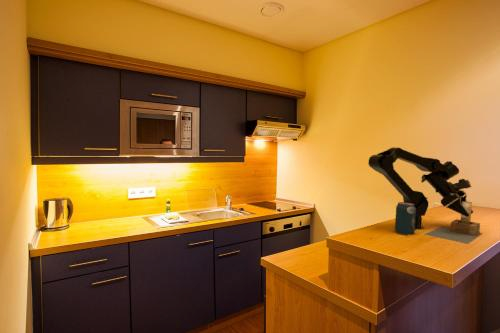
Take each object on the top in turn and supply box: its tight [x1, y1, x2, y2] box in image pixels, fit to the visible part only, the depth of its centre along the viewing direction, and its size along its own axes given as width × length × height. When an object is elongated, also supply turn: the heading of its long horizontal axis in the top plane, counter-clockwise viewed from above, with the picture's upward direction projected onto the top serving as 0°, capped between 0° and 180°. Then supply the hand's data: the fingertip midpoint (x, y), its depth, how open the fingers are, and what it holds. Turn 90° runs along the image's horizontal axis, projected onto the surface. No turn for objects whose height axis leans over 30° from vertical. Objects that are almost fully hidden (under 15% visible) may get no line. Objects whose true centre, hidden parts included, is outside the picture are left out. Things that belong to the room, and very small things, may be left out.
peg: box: [460, 200, 473, 224], centre depth 117 cm, size 3×3×12 cm
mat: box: [424, 225, 483, 245], centre depth 114 cm, size 22×14×1 cm, turn 130°
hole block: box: [450, 218, 481, 236], centre depth 117 cm, size 8×8×4 cm
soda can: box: [394, 201, 416, 236], centre depth 114 cm, size 7×7×12 cm
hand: (470, 214), depth 116 cm, fingers open, 9 cm apart
